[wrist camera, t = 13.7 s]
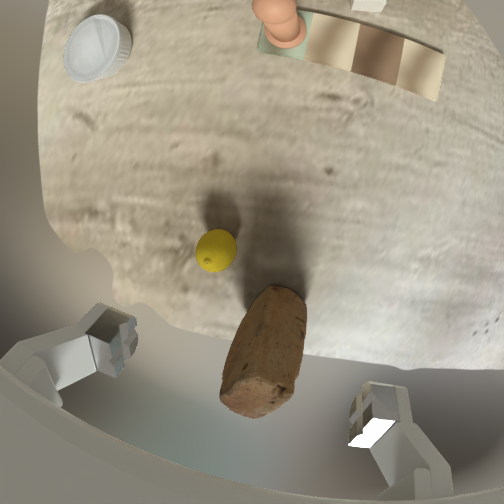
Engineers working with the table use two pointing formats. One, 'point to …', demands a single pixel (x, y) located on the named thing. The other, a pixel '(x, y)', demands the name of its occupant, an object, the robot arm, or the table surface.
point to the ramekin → (96, 49)
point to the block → (265, 354)
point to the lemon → (216, 250)
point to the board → (365, 53)
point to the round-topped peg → (280, 22)
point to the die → (367, 5)
